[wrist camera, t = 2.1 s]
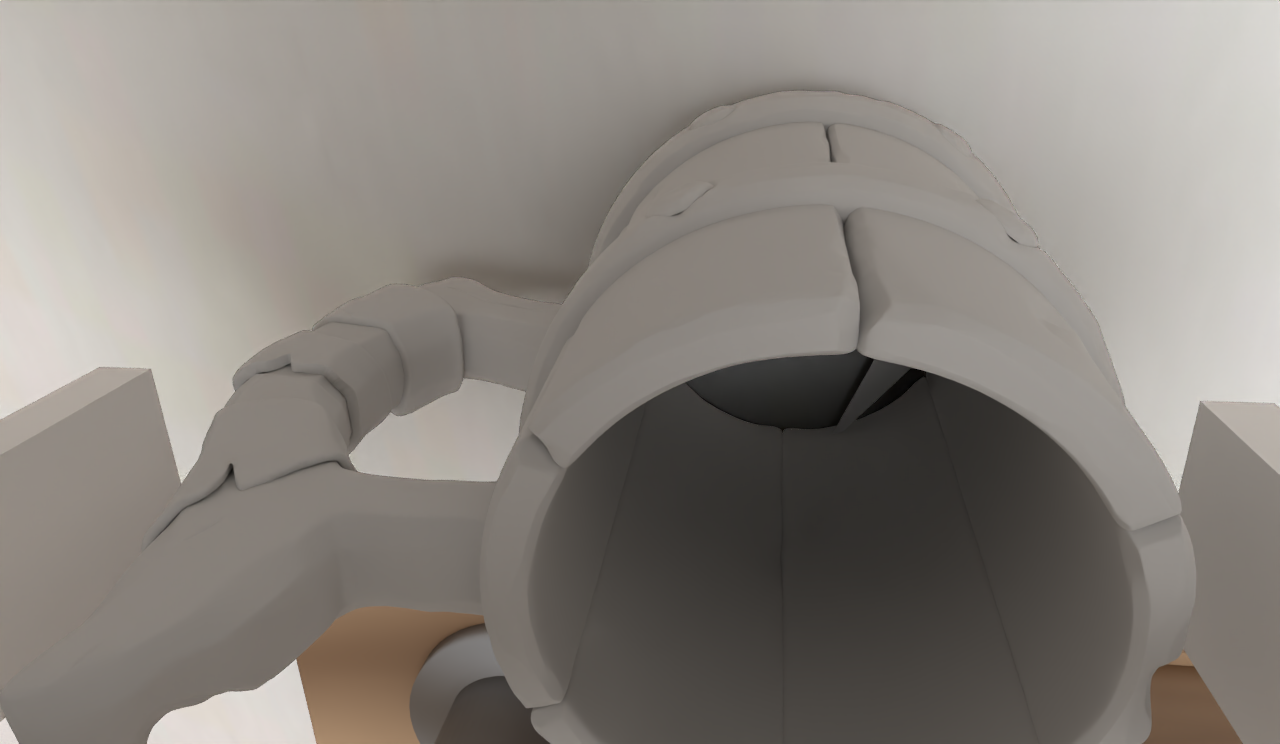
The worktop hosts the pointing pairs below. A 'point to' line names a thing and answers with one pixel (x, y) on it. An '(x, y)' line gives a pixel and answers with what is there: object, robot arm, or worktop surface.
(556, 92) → the worktop surface
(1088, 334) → the mug
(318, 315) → the worktop surface
